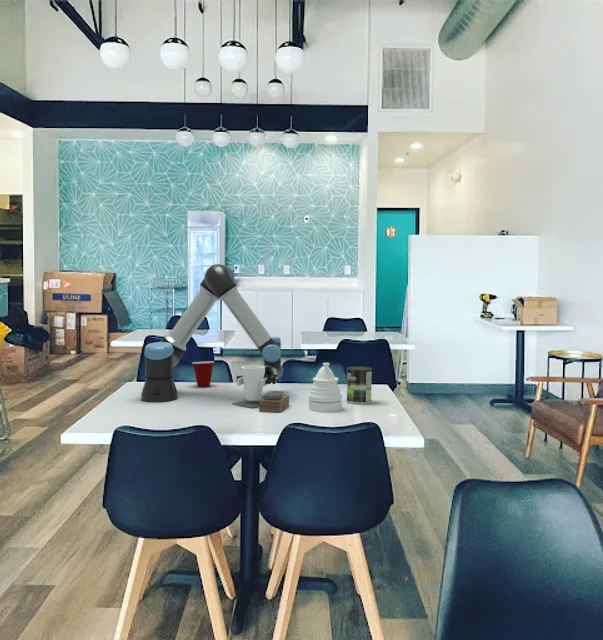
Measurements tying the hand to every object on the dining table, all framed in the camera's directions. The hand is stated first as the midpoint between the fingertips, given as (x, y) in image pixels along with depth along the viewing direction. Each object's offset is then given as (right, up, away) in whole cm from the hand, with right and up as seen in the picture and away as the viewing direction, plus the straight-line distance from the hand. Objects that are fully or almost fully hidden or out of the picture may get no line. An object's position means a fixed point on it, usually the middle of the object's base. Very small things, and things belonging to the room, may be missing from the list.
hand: (249, 383), depth 242 cm
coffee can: (+44, -9, +10) cm, 46 cm away
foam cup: (+1, -7, +5) cm, 9 cm away
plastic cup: (-26, -7, +50) cm, 57 cm away
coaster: (+1, -9, +5) cm, 10 cm away
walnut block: (+10, -9, -4) cm, 14 cm away
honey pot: (+30, -10, -4) cm, 31 cm away
